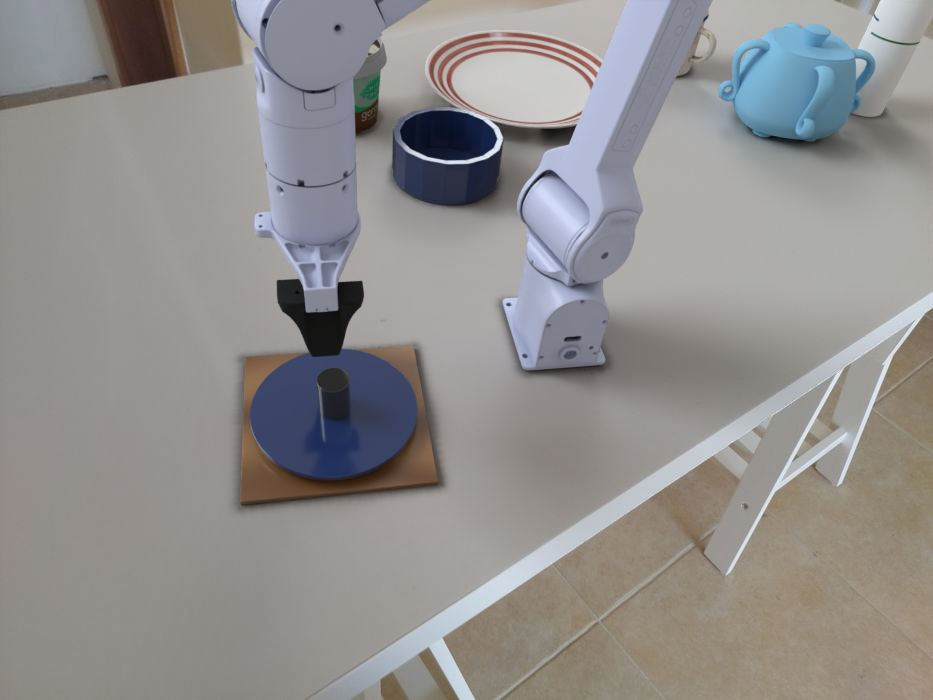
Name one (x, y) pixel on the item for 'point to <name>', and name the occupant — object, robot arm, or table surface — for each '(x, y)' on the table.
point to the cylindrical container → (890, 49)
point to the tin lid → (333, 415)
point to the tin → (446, 155)
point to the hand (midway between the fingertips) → (322, 316)
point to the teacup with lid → (692, 50)
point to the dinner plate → (514, 77)
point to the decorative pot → (796, 82)
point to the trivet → (277, 484)
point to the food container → (368, 87)
